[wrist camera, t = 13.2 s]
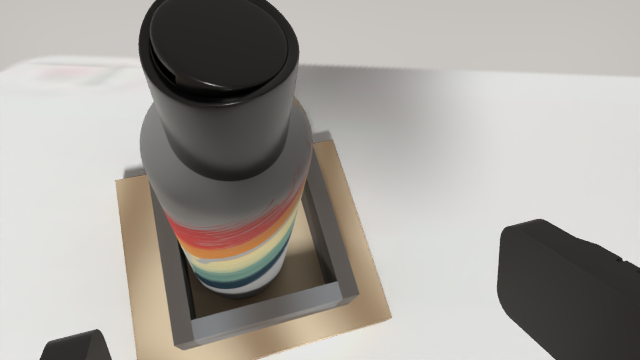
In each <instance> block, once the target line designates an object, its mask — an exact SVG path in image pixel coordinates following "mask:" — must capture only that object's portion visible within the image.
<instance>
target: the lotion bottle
mask: <svg viewBox="0 0 640 360" xmlns="http://www.w3.org/2000/svg"><path fill="white" fill-rule="evenodd" d="M139 56H140V61H141V65H142V68H143V71H144V74H145V77H146V80H147V83H148V86H149V89H150V91H151V94H152V97H153V100H154V102H153V104H152V105H151V107H150V108H149V110H148V112H147V114H146V116H145V118H144V121H143V124H142V128H141V133H140V153H141V159H142V163H143V166H144V169H145V172H146V174H147V177H148V179H149V181H150V184H151V186H152V188H153V190H154V192H155V194H156V196H157V198H158V200H159V202H160V204H161V206H162V208H163V210H164V212H165V214H166V216H167V218H168V221H169V223H170V225H171V227H172V229H173V231H174V233H175V235H176V237H177V239H178V241H179V243H180V245H181V247H182V249H183V251H184V253H185V255H186V257H187V259H188V261H189V263H190V265H191V267H192V269H193V271H194V273H195V275H196V276H197V278H198V279H199V281H200V282H201V283H202V284H203V285H204V286H205V287H206V288H207V289H208V290H210V291H211V292H213V293H214V294H216V295H218V296H221V297H224V298H229V299H243V298H248V297H251V296H254V295H256V294H259V293H260V292H262V291H263V290H265V289H266V288H267V287H268V286H270V284H271V283H272V282H273V281H274V280H275V278H276V277H277V275H278V274H279V272H280V270H281V267H282V264H283V262H284V258H285V255H286V251H287V248H288V244H289V240H290V237H291V233H292V229H293V226H294V222H295V219H296V215H297V211H298V208H299V204H300V201H301V197H302V193H303V190H304V186H305V182H306V178H307V175H308V171H309V167H310V162H311V157H312V148H313V142H312V132H311V127H310V123H309V120H308V118H307V115H306V113H305V111H304V109H303V108H302V106H301V105H300V103H299V102H298V100H297V99H296V98H295V97H294V89H295V83H296V76H297V69H298V62H299V45H298V40H297V37H296V35H295V33H294V31H293V29H292V27H291V25H290V24H289V23H288V21H287V20H286V19H285V17H284V16H283V15H282V14H281V13H280V12H279V11H278V10H277V9H276V8H275V7H274V6H272V5H271V4H270V3H269V2H268V1H266V0H156V1H155V2H154V3H153V4H152V6H151V7H150V8H149V10H148V12H147V14H146V15H145V18H144V20H143V22H142V26H141V29H140V35H139Z"/></svg>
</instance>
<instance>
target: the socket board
mask: <svg viewBox="0 0 640 360" xmlns="http://www.w3.org/2000/svg"><path fill="white" fill-rule="evenodd" d="M115 182H116V190H117V199H118V207H119V215H120V223H121V231H122V240H123V248H124V256H125V264H126V272H127V280H128V289H129V297H130V305H131V313H132V321H133V330H134V338H135V346H136V354H137V360H256V359H259V358H262V357H266V356H269V355H272V354H276V353H279V352H283V351H286V350H289V349H293V348H296V347H299V346H303V345H306V344H309V343H313V342H316V341H320V340H323V339H326V338H330V337H333V336H336V335H340V334H343V333H346V332H350V331H353V330H356V329H360V328H363V327H367V326H370V325H373V324H377V323H380V322H383V321H386V320H388V319H391V318H392V316H391V313H390V310H389V307H388V304H387V301H386V298H385V295H384V292H383V289H382V286H381V283H380V280H379V277H378V274H377V271H376V268H375V265H374V262H373V259H372V256H371V253H370V250H369V247H368V244H367V241H366V238H365V235H364V232H363V229H362V226H361V223H360V220H359V217H358V214H357V211H356V208H355V205H354V202H353V199H352V196H351V193H350V190H349V187H348V184H347V181H346V178H345V175H344V172H343V169H342V166H341V163H340V160H339V157H338V154H337V151H336V148H335V145H334V142H333V140H328V141H323V142H318V143H313V148H312V157H311V162H310V167H309V171H308V175H307V178H306V182H305V186H304V190H303V193H302V197H301V201H300V204H299V208H298V211H297V215H296V219H295V222H294V226H293V229H292V233H291V237H290V240H289V244H288V248H287V251H286V255H285V258H284V262H283V264H282V267H281V270H280V272H279V274H278V275H277V277H276V278H275V280H274V281H273V282H272V283H271V284H270V286H268V287H267V288H266V289H265V290H263V291H262V292H260V293H259V294H256V295H254V296H251V297H248V298H243V299H229V298H224V297H221V296H218V295H216V294H214V293H213V292H211V291H210V290H208V289H207V288H206V287H205V286H204V285H203V284H202V283H201V282H200V281H199V279H198V278H197V276H196V275H195V273H194V271H193V269H192V267H191V265H190V263H189V261H188V259H187V257H186V255H185V253H184V251H183V249H182V247H181V245H180V243H179V241H178V239H177V237H176V235H175V233H174V231H173V229H172V227H171V225H170V223H169V221H168V218H167V216H166V214H165V212H164V210H163V208H162V206H161V204H160V202H159V200H158V198H157V196H156V194H155V192H154V190H153V188H152V186H151V184H150V181H149V179H148V177H147V175H141V176H136V177H130V178H125V179H120V180H115Z"/></svg>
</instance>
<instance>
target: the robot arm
mask: <svg viewBox="0 0 640 360" xmlns="http://www.w3.org/2000/svg"><path fill="white" fill-rule="evenodd" d="M497 293H498V298H499V301H500V303H501V306H502V307H503V309H504V311H505V312H506V314H507V315H508V316H509V317H510V318H511V319H512V320H513V321H514V322H515V323H516V324H517V325H518V326H520V327H521V328H522V329H523V330H524V331H525V332H526V333H527V334H528V335H529V336H530V337H532V338H533V339H534V340H535V341H536V342H537V343H538V344H539V345H540V346H541V347H542V348H544V349H545V350H546V351H547V352H548V353H549V354H550V355H551V356H552V357H553V358H554V359H556V360H640V268H639V267H637V266H635V265H634V264H632V263H630V262H628V261H623V260H622V258H621V257H619V256H617V255H616V254H614V253H612V252H610V251H608V250H606V249H605V248H603V247H601V246H599V245H597V244H594V243H591V242H588V241H585V240H582V239H579V238H576V237H574V236H572V235H570V234H569V233H567V232H565V231H563V230H562V229H560V228H558V227H556V226H555V225H553V224H551V223H549V222H547V221H545V220H543V219H536V220H532V221H528V222H524V223H520V224H516V225H512V226H508V227H506V228H504V230H503V231H502V233H501V237H500V250H499V265H498V280H497ZM40 360H112V359H111V356H110V353H109V350H108V347H107V345H106V342H105V339H104V336H103V335H102V333H101V331H99V330H98V329H96V330H92V331H88V332H84V333H80V334H76V335H72V336H68V337H64V338H60V339H56V340H52V341H49V342H48V343H47V344H46V346H45V348H44V350H43V353H42V355H41V358H40Z"/></svg>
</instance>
